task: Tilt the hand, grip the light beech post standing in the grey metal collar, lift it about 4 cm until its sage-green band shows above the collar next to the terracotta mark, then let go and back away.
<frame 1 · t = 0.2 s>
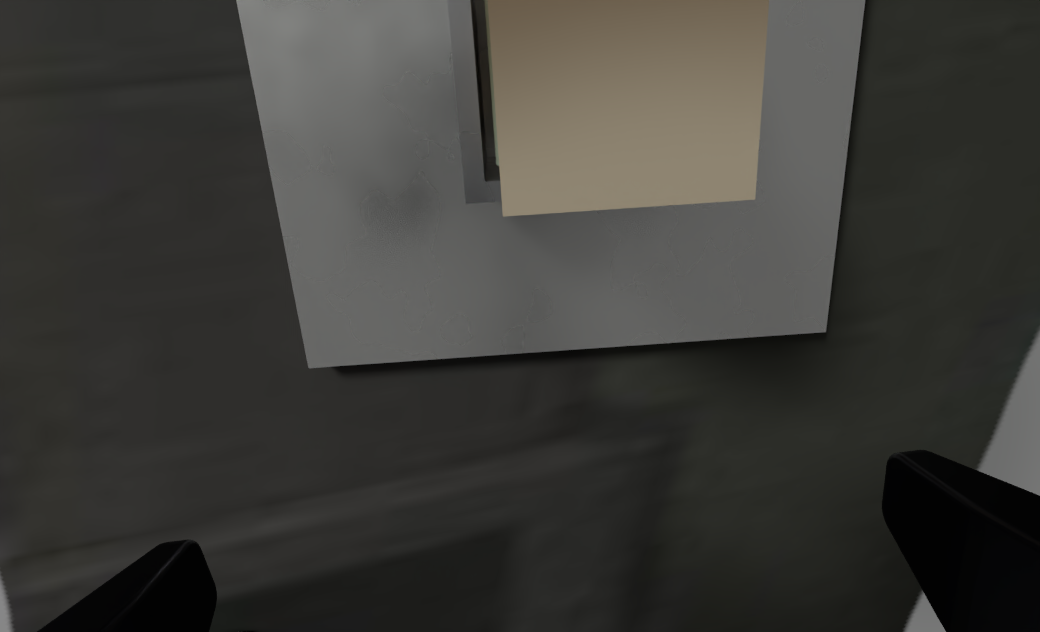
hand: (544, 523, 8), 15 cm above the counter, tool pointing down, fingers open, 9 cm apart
stand: (554, 73, 20), on the counter
post: (581, 72, 14), point 7 cm above the counter, slide at 0.0 cm
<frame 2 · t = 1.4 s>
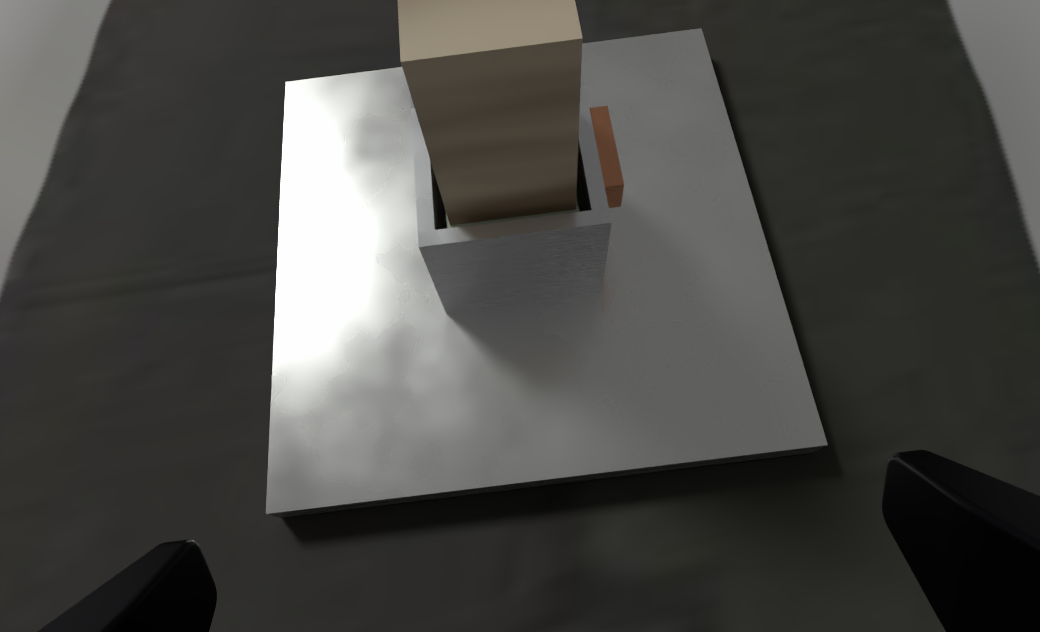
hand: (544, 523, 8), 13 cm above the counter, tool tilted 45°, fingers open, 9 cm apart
stand: (517, 251, 25), on the counter
post: (503, 139, 19), point 7 cm above the counter, slide at 0.0 cm
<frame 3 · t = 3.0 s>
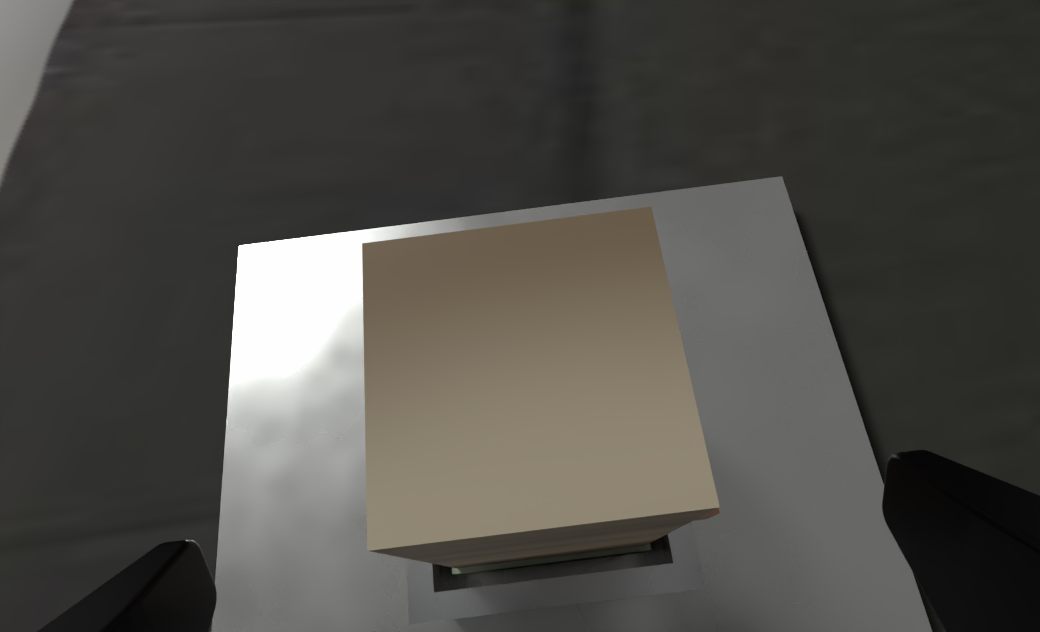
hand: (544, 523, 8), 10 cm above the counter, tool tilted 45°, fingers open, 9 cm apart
stand: (544, 496, 19), on the counter
post: (537, 449, 12), point 7 cm above the counter, slide at 0.0 cm
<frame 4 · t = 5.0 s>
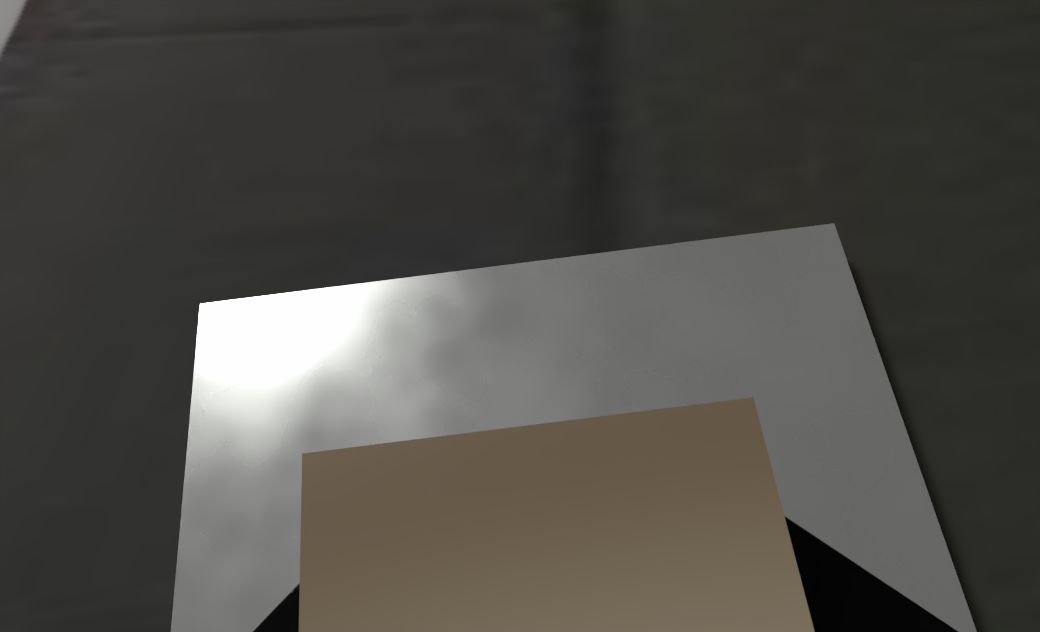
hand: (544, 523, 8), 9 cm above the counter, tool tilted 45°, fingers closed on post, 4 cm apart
stand: (558, 611, 16), on the counter
post: (558, 631, 9), point 7 cm above the counter, slide at 0.0 cm, touching gripper
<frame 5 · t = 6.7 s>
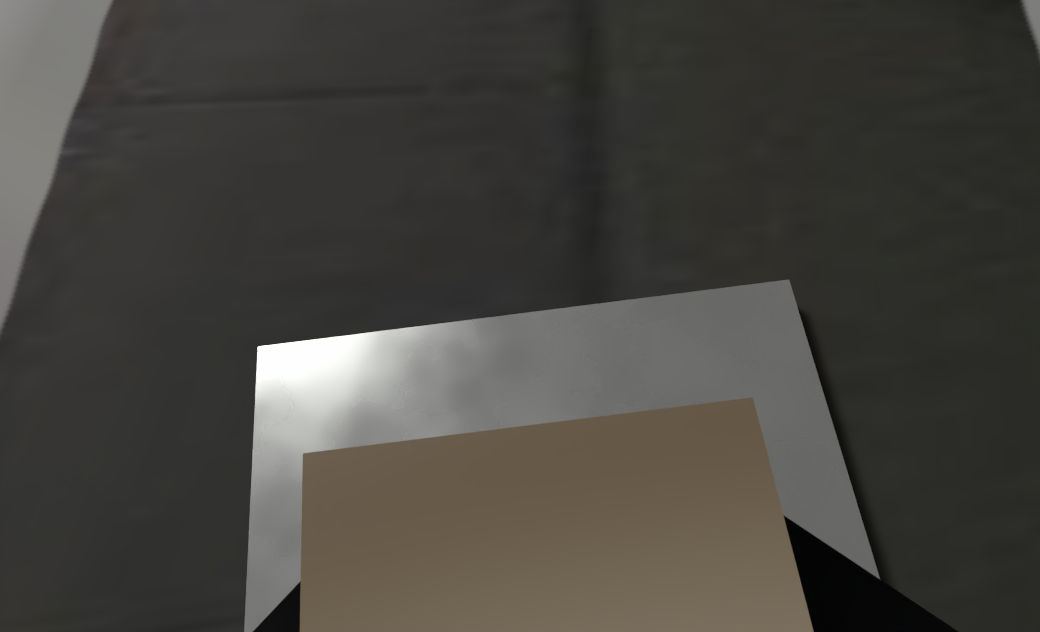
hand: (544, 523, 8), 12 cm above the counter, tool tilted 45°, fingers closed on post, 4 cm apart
stand: (558, 603, 19), on the counter
post: (558, 629, 9), point 11 cm above the counter, slide at 3.8 cm, touching gripper
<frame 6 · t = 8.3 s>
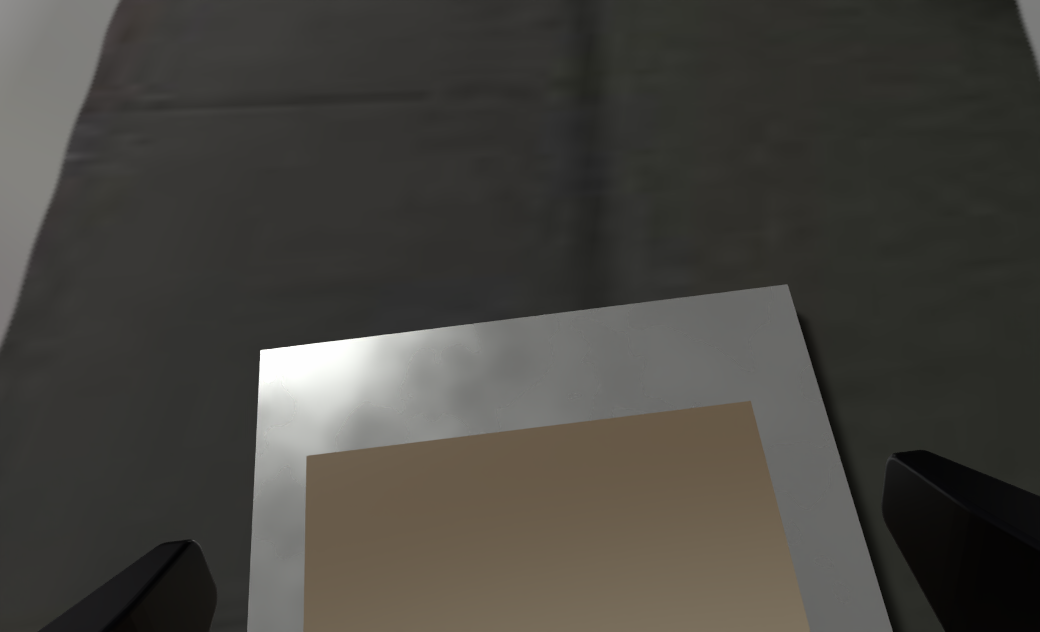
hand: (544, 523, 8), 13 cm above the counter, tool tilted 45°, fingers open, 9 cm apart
stand: (558, 605, 19), on the counter
post: (558, 631, 10), point 11 cm above the counter, slide at 3.9 cm
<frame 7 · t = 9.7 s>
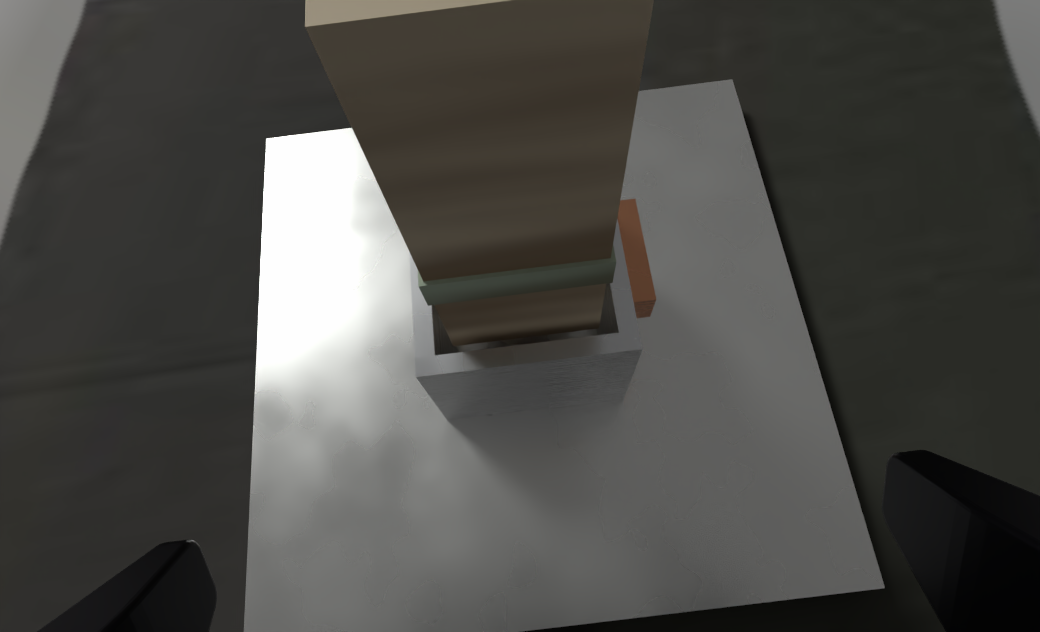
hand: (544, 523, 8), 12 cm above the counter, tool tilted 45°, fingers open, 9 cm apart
stand: (526, 339, 22), on the counter
post: (502, 154, 12), point 11 cm above the counter, slide at 3.9 cm
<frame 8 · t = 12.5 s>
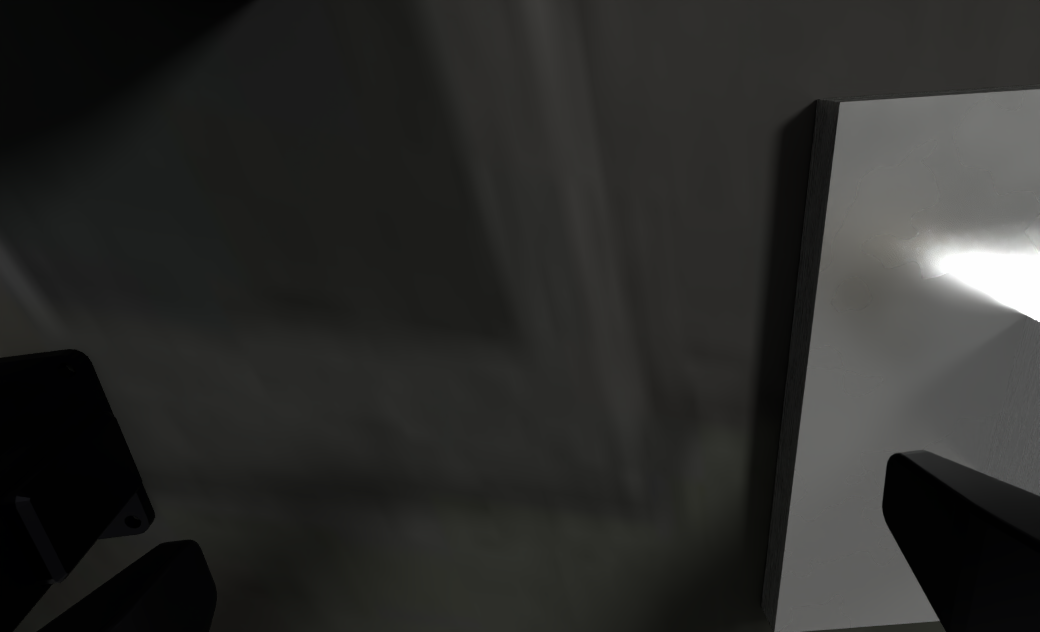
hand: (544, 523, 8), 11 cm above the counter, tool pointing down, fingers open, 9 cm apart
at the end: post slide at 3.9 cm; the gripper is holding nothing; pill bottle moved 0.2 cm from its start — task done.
